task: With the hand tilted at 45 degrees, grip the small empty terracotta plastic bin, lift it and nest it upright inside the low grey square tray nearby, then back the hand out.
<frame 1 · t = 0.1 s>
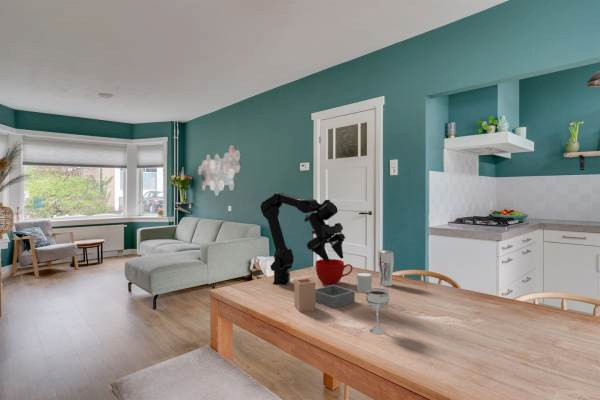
hand: (335, 260, 133), 15 cm above the table, tool tilted 35°, fingers open, 9 cm apart
grey square tray: (333, 300, 128), on the table
wineglass: (377, 331, 101), on the table
terracotta bin: (304, 308, 121), on the table
ceramic cup: (334, 284, 152), on the table
white cylindrical piece: (364, 291, 141), on the table
beer glass: (385, 285, 150), on the table
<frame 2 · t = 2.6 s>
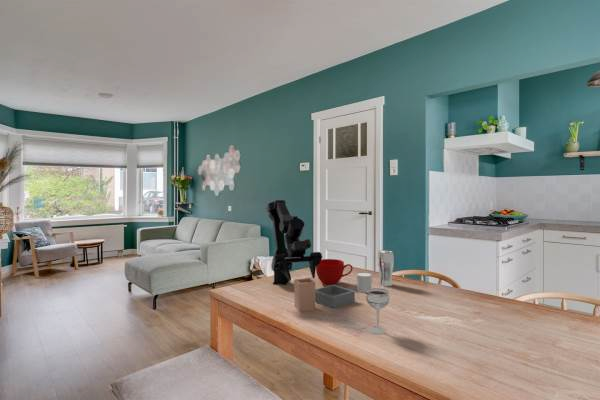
hand: (302, 279, 123), 10 cm above the table, tool tilted 45°, fingers open, 9 cm apart
nothing on the table moved.
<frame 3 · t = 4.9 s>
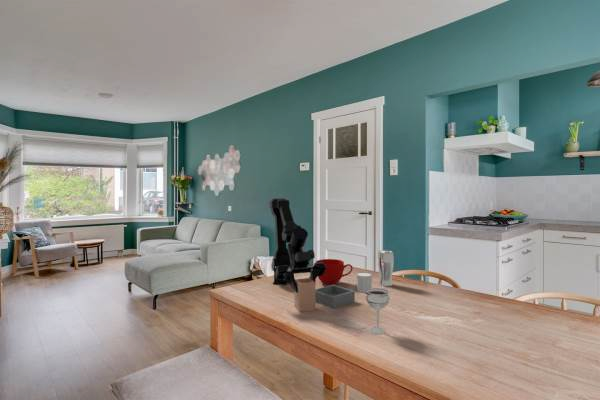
hand: (305, 291, 119), 7 cm above the table, tool tilted 45°, fingers closed on terracotta bin, 6 cm apart
terracotta bin: (304, 308, 121), on the table, touching gripper
everything else where it was.
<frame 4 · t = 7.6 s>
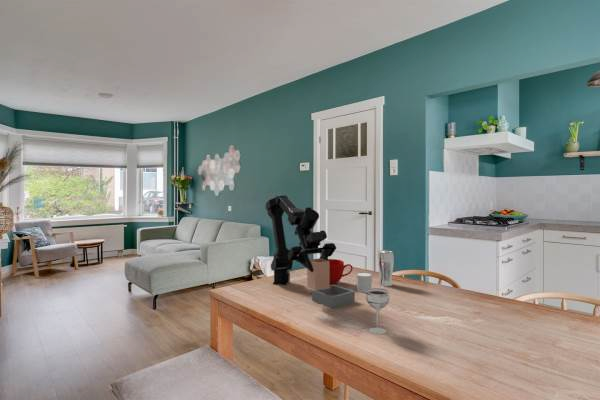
hand: (320, 270, 122), 13 cm above the table, tool tilted 45°, fingers closed on terracotta bin, 6 cm apart
terracotta bin: (318, 287, 123), point 7 cm above the table, touching gripper
everything else where it was.
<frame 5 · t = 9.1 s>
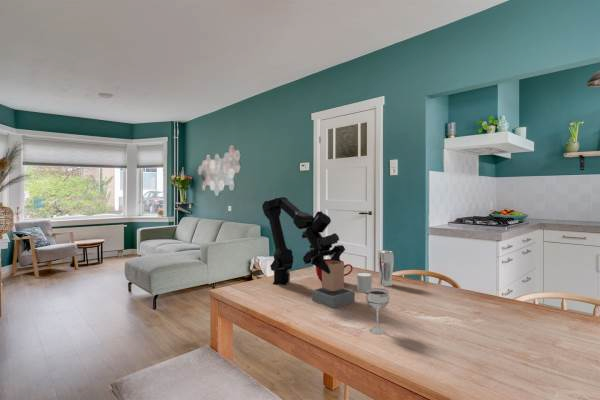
hand: (335, 271, 127), 12 cm above the table, tool tilted 45°, fingers closed on terracotta bin, 6 cm apart
terracotta bin: (332, 288, 128), point 5 cm above the table, touching gripper
everything else where it was.
when the fingers open (9 cm above the table, at t = 10.4 s): terracotta bin drops 2 cm, resting on grey square tray.
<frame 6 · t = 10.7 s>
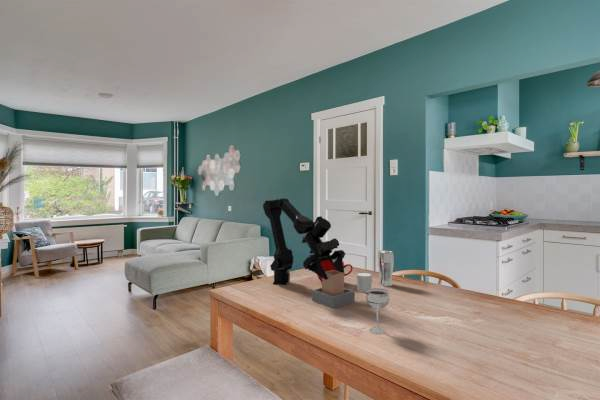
hand: (335, 277, 127), 10 cm above the table, tool tilted 45°, fingers open, 9 cm apart
terracotta bin: (333, 298, 128), point 1 cm above the table, touching grey square tray
everything else where it was.
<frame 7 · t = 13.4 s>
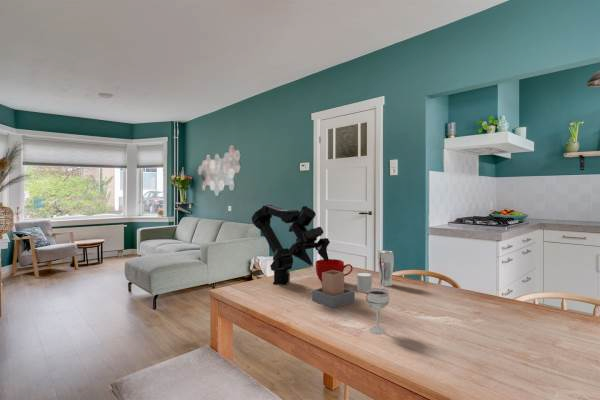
hand: (319, 262, 134), 14 cm above the table, tool tilted 45°, fingers open, 9 cm apart
nothing on the table moved.
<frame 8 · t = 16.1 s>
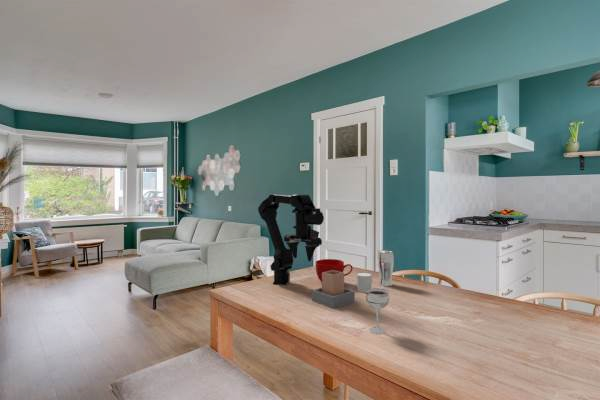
hand: (302, 259, 143), 13 cm above the table, tool pointing down, fingers open, 9 cm apart
nothing on the table moved.
at the end: terracotta bin 0.0 cm off-centre on the grey square tray, point 1.0 cm above the grey square tray's base; terracotta bin tilted 0°; the gripper is holding nothing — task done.
